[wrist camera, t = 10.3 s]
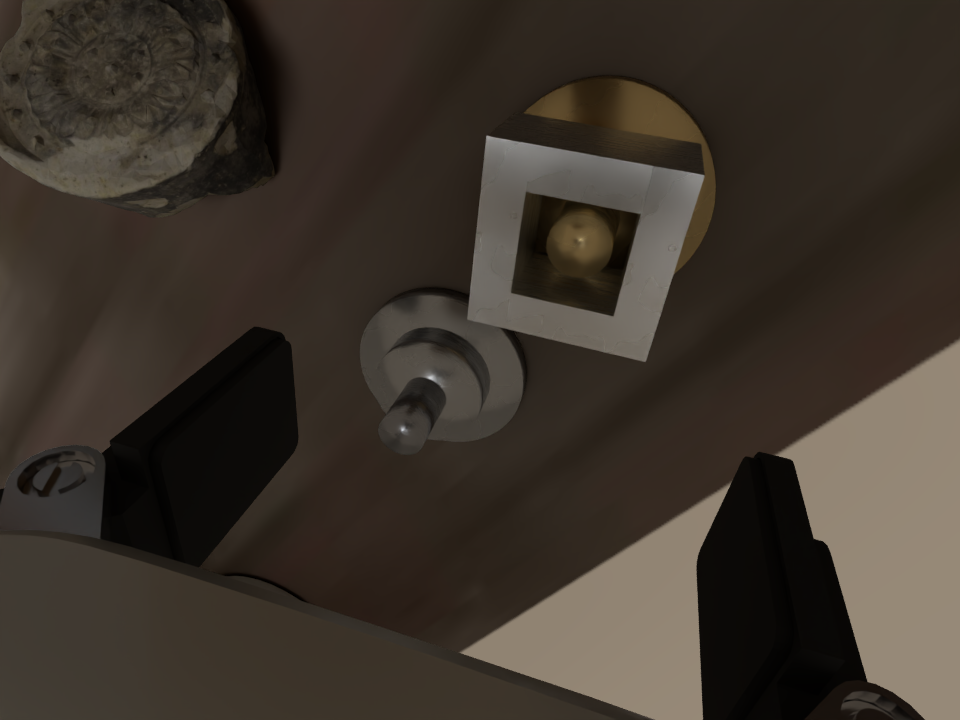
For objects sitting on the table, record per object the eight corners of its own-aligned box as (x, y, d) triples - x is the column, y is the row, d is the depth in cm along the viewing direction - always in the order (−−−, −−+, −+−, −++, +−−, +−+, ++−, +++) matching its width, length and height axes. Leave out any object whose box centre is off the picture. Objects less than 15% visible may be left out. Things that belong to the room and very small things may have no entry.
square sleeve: (650, 309, 24) (645, 362, 21) (494, 275, 25) (467, 319, 22) (701, 143, 20) (704, 175, 17) (516, 112, 21) (486, 135, 18)
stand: (403, 436, 36) (358, 511, 31) (342, 304, 32) (278, 365, 27) (546, 423, 32) (521, 505, 27) (497, 272, 28) (456, 335, 23)
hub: (528, 305, 29) (495, 375, 24) (468, 115, 25) (414, 149, 20) (728, 270, 25) (740, 343, 20) (695, 41, 21) (700, 60, 16)
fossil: (231, -91, 23) (117, 72, 18) (341, 113, 30) (282, 267, 25) (25, -30, 26) (-120, 121, 21) (171, 140, 33) (88, 282, 29)
